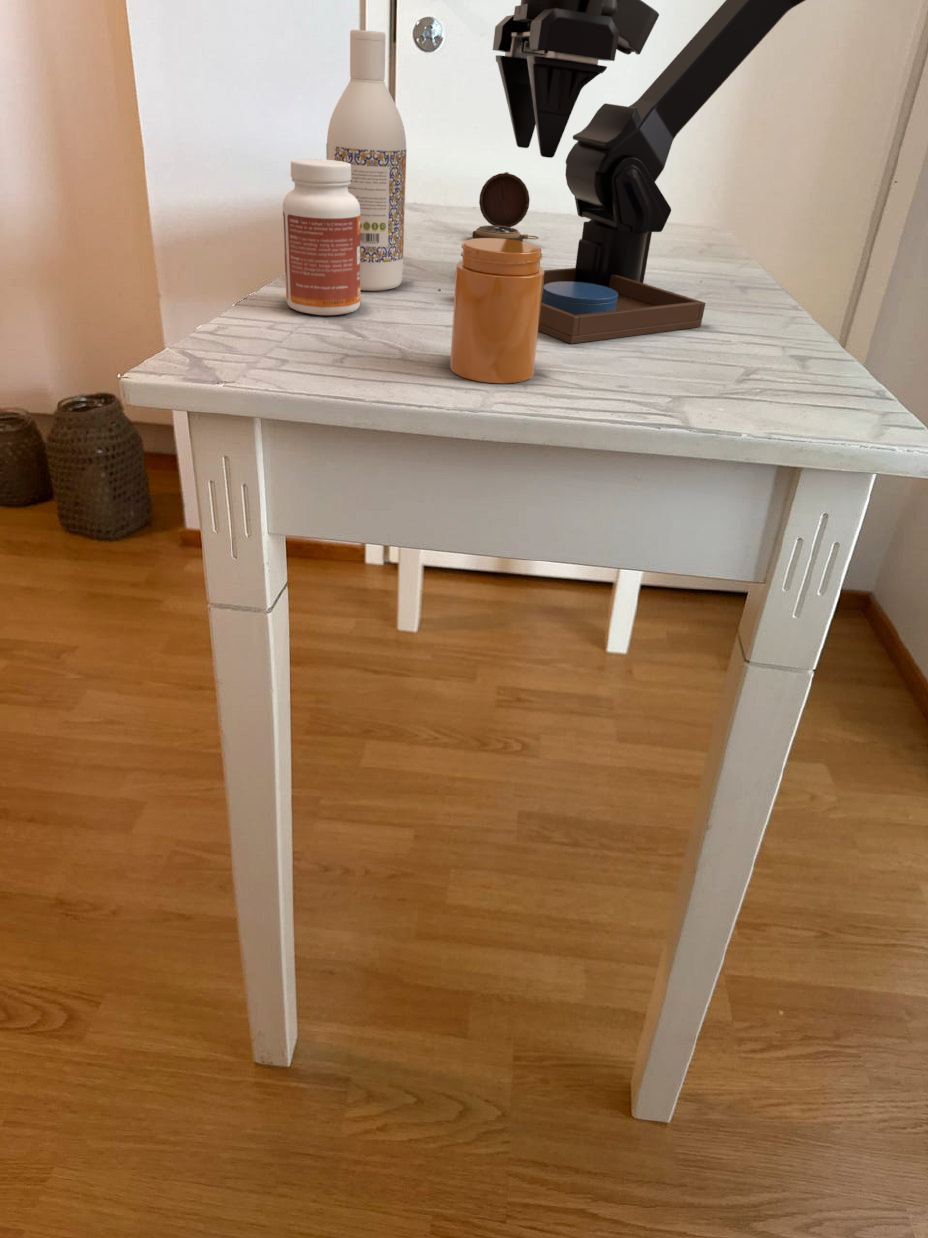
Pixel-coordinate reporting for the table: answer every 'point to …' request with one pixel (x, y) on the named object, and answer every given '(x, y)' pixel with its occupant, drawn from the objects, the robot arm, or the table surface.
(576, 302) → the lid
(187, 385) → the table surface
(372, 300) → the table surface
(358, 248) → the pill bottle
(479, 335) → the jar
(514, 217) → the compass
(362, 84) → the bath foam
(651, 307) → the tray
